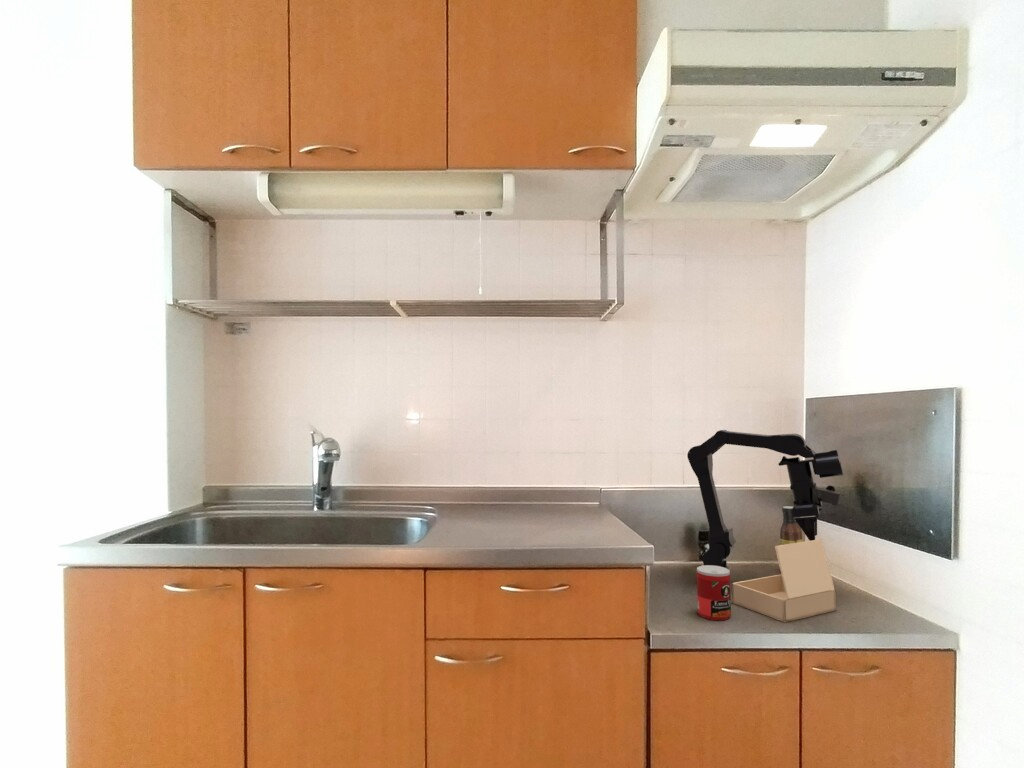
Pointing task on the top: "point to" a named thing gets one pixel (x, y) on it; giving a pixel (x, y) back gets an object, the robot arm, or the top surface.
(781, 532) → the sauce bottle
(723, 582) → the canned food
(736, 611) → the top surface
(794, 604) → the carton
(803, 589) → the carton flap
